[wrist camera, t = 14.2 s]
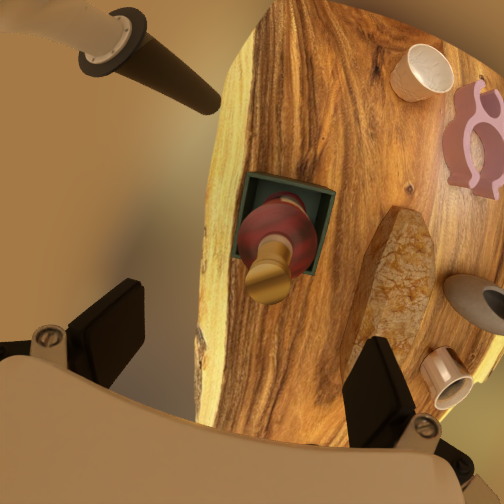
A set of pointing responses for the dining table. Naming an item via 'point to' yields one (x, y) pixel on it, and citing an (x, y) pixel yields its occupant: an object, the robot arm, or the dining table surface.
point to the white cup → (421, 74)
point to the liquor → (276, 246)
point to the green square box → (311, 194)
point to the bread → (391, 287)
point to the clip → (490, 132)
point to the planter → (477, 301)
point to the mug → (445, 377)
